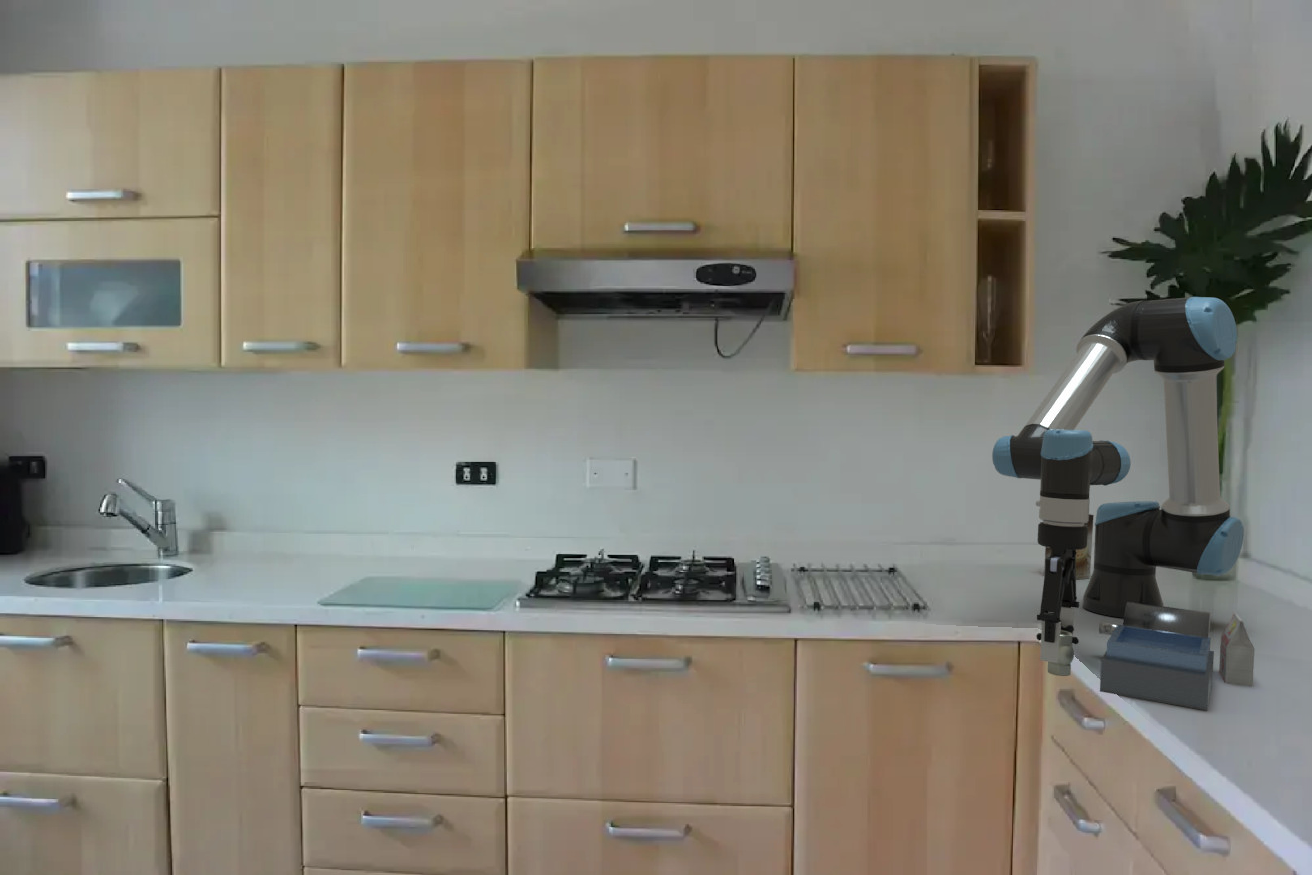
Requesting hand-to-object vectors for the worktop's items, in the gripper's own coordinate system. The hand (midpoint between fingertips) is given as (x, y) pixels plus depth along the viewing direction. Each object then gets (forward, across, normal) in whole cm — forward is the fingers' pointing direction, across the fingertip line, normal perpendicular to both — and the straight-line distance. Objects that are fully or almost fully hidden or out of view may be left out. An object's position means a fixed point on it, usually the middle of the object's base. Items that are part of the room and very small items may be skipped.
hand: (1056, 653), depth 153 cm
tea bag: (+2, -10, +25) cm, 27 cm away
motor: (+2, -2, +14) cm, 14 cm away
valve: (+2, 0, 0) cm, 2 cm away
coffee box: (+2, -83, -12) cm, 84 cm away
